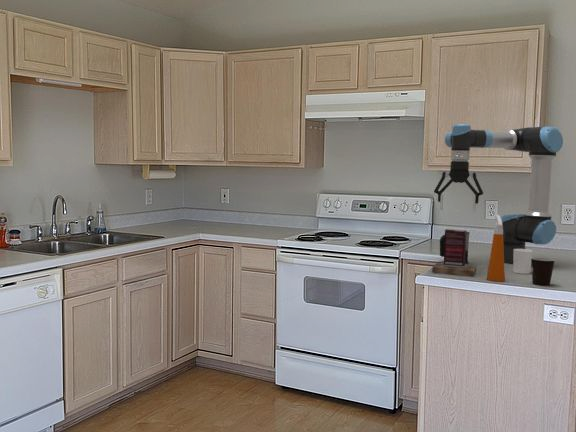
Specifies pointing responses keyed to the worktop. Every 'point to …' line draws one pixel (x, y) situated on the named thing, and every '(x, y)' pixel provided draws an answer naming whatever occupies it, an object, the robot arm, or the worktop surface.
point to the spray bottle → (497, 254)
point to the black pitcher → (443, 246)
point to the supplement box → (455, 248)
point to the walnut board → (454, 270)
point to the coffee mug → (542, 270)
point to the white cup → (522, 260)
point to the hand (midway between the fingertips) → (457, 210)
